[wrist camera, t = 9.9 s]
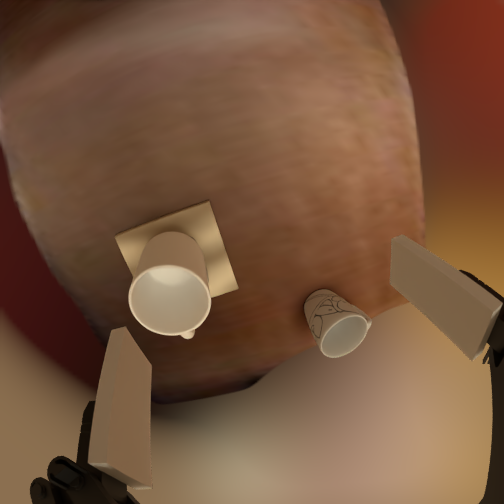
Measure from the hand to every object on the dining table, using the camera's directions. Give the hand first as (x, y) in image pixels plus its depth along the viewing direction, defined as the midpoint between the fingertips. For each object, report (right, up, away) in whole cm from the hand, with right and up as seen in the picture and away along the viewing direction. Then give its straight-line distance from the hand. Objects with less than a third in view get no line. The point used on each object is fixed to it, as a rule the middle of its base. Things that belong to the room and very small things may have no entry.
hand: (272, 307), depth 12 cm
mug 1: (-11, 0, +24) cm, 26 cm away
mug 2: (+13, -7, +36) cm, 39 cm away
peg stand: (-11, +1, +27) cm, 29 cm away
